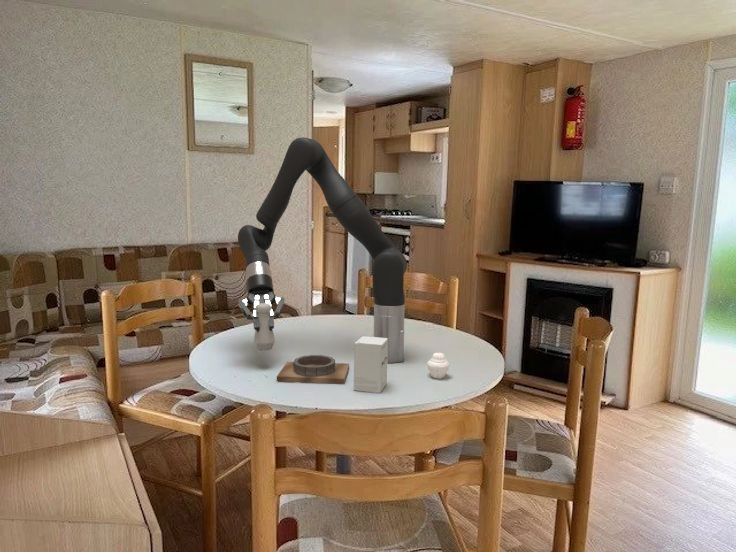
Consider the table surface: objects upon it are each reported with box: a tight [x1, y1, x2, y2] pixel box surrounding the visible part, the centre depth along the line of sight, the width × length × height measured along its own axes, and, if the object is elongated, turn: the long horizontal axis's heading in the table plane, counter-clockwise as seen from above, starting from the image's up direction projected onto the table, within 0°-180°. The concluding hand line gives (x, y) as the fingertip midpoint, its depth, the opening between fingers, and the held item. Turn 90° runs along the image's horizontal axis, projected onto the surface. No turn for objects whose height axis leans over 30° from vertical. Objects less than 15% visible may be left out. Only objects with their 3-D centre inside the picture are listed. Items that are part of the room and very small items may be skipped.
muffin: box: [426, 352, 450, 379], centre depth 147 cm, size 6×6×7 cm
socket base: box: [276, 354, 350, 385], centre depth 147 cm, size 18×13×4 cm
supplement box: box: [353, 335, 388, 394], centre depth 137 cm, size 7×7×13 cm
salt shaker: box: [253, 303, 276, 351], centre depth 151 cm, size 6×6×13 cm
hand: (264, 329), depth 149 cm, fingers closed on salt shaker, 3 cm apart
